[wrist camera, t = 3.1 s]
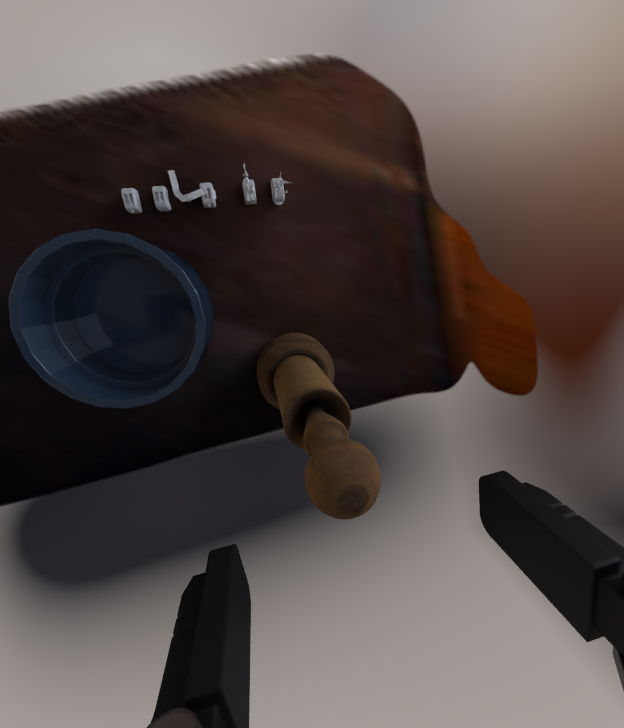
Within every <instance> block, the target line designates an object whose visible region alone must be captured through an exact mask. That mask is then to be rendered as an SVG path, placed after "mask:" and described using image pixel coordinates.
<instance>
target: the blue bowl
mask: <svg viewBox="0 0 624 728" xmlns="http://www.w3.org/2000/svg"><path fill="white" fill-rule="evenodd" d="M8 302H9V315H10V328H11V331H12V333H13V336H14V338H15V340H16V342H17V345H18V347H19V349H20V351H21V354H22V356H23V357H24V359H25V360H26V361H27V362H28V363H29V364H30V365H31V367H32V368H33V369H34V370H35V371H36V372H37V373H38V375H39V376H40V377H41V378H42V379H43V380H44V381H45V382H47V383H48V384H50V385H51V386H53V387H54V388H56V389H57V390H59V391H60V392H62V393H63V394H65V395H66V396H68V397H70V398H73V399H76V400H79V401H82V402H85V403H88V404H91V405H94V406H97V407H109V408H132V407H137V406H141V405H146V404H150V403H154V402H156V401H158V400H160V399H162V398H164V397H165V396H167V395H169V394H171V393H172V392H174V391H176V390H177V389H178V388H179V387H180V386H181V385H182V384H183V383H184V382H185V381H186V380H187V378H188V377H189V376H190V375H191V374H192V373H193V372H194V370H195V369H196V367H197V366H198V364H199V363H200V361H201V360H202V358H203V357H204V355H205V353H206V351H207V349H208V346H209V344H210V341H211V339H212V337H213V326H214V311H213V307H212V303H211V300H210V296H209V292H208V290H207V289H206V287H205V285H204V284H203V282H202V281H201V279H200V277H199V276H198V274H197V273H196V271H195V270H194V269H193V268H192V267H191V266H189V265H188V264H187V263H186V262H185V261H184V260H183V259H181V258H180V257H179V256H178V255H177V254H175V253H173V252H171V251H169V250H167V249H165V248H163V247H161V246H158V245H156V244H154V243H152V242H149V241H146V240H144V239H141V238H138V237H135V236H133V235H130V234H126V233H120V232H113V231H107V230H101V229H91V230H84V231H78V232H71V233H65V234H62V235H60V236H58V237H57V238H55V239H53V240H51V241H49V242H47V243H46V244H44V245H42V246H40V247H38V248H37V249H35V251H34V252H33V253H32V254H31V255H30V257H29V258H28V259H27V260H26V261H25V263H24V264H23V265H22V266H21V267H20V269H19V270H18V272H17V274H16V277H15V280H14V283H13V287H12V290H11V293H10V296H9V300H8Z"/></svg>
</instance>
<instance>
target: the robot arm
mask: <svg viewBox="0 0 624 728" xmlns="http://www.w3.org/2000/svg"><path fill="white" fill-rule="evenodd" d="M479 498H480V499H479V501H480V517H481V521H482V523H483V525H484V528H485V529H486V531H487V533H488V534H489V535H490V536H491V538H492V539H493V540H494V541H495V542H496V543H497V544H498V545H499V546H500V547H501V548H502V550H503V551H504V552H505V553H506V554H507V555H508V556H509V557H510V558H511V559H512V560H513V562H514V563H515V564H516V565H517V566H518V567H519V568H520V569H521V570H522V571H523V572H524V574H525V575H526V576H527V577H528V578H529V579H530V580H531V581H532V582H533V583H534V584H535V586H536V587H537V588H538V589H539V590H540V591H541V592H542V593H543V594H544V595H545V597H546V598H547V599H548V600H549V601H550V602H551V603H552V604H553V605H554V606H555V607H556V608H557V610H558V611H559V612H560V613H561V614H562V615H563V616H564V617H565V618H566V619H567V621H569V623H570V624H571V625H572V626H573V627H574V628H575V629H576V630H577V632H578V633H579V634H580V635H581V636H582V637H583V638H584V639H585V640H586V641H587V642H589V641H592V640H595V639H598V638H600V637H603V636H604V637H605V638H606V639H607V640H608V641H609V642H610V643H611V644H612V645H613V655H614V660H615V663H616V667H617V670H618V673H619V677H620V680H621V683H622V687H623V690H624V548H623V547H622V546H621V545H619V544H618V543H617V542H615V541H614V540H613V539H611V538H610V537H608V536H607V535H606V534H604V533H603V532H602V531H600V530H599V529H597V528H596V527H595V526H593V525H592V524H591V523H589V522H588V521H586V520H585V519H584V518H582V517H581V516H579V515H578V516H577V515H576V513H575V512H574V511H573V510H571V509H570V508H569V507H567V506H566V505H563V504H562V502H560V501H559V500H558V499H556V498H555V497H554V496H552V495H551V494H549V493H548V492H547V491H545V490H542V489H540V488H538V487H536V486H533V485H531V484H529V483H521V482H519V481H518V480H517V479H515V478H514V477H513V476H512V475H510V474H509V473H507V472H505V471H500V472H496V473H493V474H489V475H485V476H482V477H480V479H479ZM177 616H178V618H177V619H176V623H175V627H174V632H173V634H174V636H173V637H172V640H171V644H170V649H169V653H168V657H167V662H166V666H165V670H164V674H163V679H162V683H161V688H160V692H159V696H158V700H157V705H156V709H155V712H154V716H153V718H152V721H151V724H150V725H149V726H148V727H147V728H249V692H250V626H251V600H250V591H249V585H248V581H247V577H246V574H245V571H244V568H243V564H242V561H241V558H240V554H239V551H238V548H237V546H236V544H233V545H229V546H226V547H222V548H219V549H215V550H211V551H210V552H209V556H208V562H207V568H206V573H202V574H199V575H195V576H193V578H192V579H191V581H190V582H189V584H188V586H187V588H186V589H185V591H184V593H183V594H182V597H181V602H180V606H179V610H178V615H177Z"/></svg>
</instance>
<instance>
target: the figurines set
mask: <svg viewBox="0 0 624 728" xmlns="http://www.w3.org/2000/svg"><path fill="white" fill-rule="evenodd" d="M244 170H245V164H244ZM168 173H169V177H170V180H171V184H172V188H173V192H174V195H175V196H176V197H177V198H179V199H180V200H181V201H182V202H185V201H187V202H191V200H193V199H195V198H198V197H200V196H201V197H202V202H203V205H204V207H205V208H212V207H216V202H215V199H216V193H215V190H213V186H212V184H211V183H201V184H200V189H199V190H196V191H194V192H191V193H189V194H186V195H182V194H181V193H180V191H179V187H178V183H177V179H176V175H175V172H174V170H171V171H168ZM243 176H244V175H243ZM245 176H248V174H247V172H246V171H245ZM280 176H281V173H280ZM284 183H291V182H287V181H283V180H282V178H280V177H279V178H273V179H271V190H272V198H273V202H274V203H275V204H277V205H280V204H283V202H284V198H285V195H284V192H285V191H284V186H283V184H284ZM242 185H243V192H244V198H245V204H246V205H251V204H256V203H257V200H256V193H255V185H254V181H253V180H249V179H248V177H246V178H245V179H244V181H243V183H242ZM152 192H153V197H154V201H155V205H156V208H157V209H158V210H159V211H171V206H170V203H169V200H168V191H167V189H166V188H165V187H164V186H154V187H152ZM121 193H122V197H123V201H124V206H125V208H126V210H127V211H128V212H129V213H131V214H135V213H142V208H141V204H140V199H139V195H138V191H137V190H136V189H134V188H124V189H122V190H121ZM285 193H287V192H285Z"/></svg>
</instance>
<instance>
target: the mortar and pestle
mask: <svg viewBox="0 0 624 728" xmlns="http://www.w3.org/2000/svg"><path fill="white" fill-rule="evenodd" d="M257 379H258V384H259V388H260V390H261V392H262V394H263V396H264V397H265V399H266V400H267V401H268V402H269V403H270V404H271V405H273V406H274V407H275V408H277V409H279V410H280V411H281V416H282V421H283V427H284V431H285V433H286V435H287V437H288V438H289V440H290V441H291V442H292V443H293V444H295V445H296V446H297V447H299V448H301V449H304V450H306V452H307V454H308V455H309V456H310V459H309V461H308V463H307V466H306V471H305V484H306V489H307V492H308V494H309V496H310V498H311V500H312V502H313V503H314V504H315V505H316V506H317V508H318V509H320V510H321V511H322V512H323V513H325V514H327V515H329V516H331V517H334V518H337V519H352V518H355V517H358V516H360V515H362V514H364V513H365V512H366V511H368V510H369V509H370V508H371V507H372V506H373V504H374V503H375V501H376V499H377V497H378V494H379V491H380V485H381V475H380V470H379V466H378V464H377V461H376V459H375V457H374V456H373V455H372V453H371V452H370V451H369V450H368V449H367V448H366V447H365V446H364V445H362V444H361V443H359V442H357V441H354V440H351V439H349V436H348V430H349V428H350V424H351V411H350V408H349V405H348V404H347V402H346V400H345V399H344V398H343V397H342V395H341V394H340V393H339V392H338V390H337V389H336V388H335V387H334V385H333V381H334V365H333V362H332V359H331V357H330V355H329V353H328V352H327V350H326V349H325V348H324V347H323V346H322V345H321V344H320V343H319V342H318V341H317V340H316V339H314V338H313V337H311V336H308V335H306V334H302V333H286V334H283V335H280V336H278V337H276V338H275V339H273V340H272V341H270V342H269V343H268V344H267V345H266V346H265V348H264V349H263V350H262V352H261V354H260V356H259V359H258V363H257Z"/></svg>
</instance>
